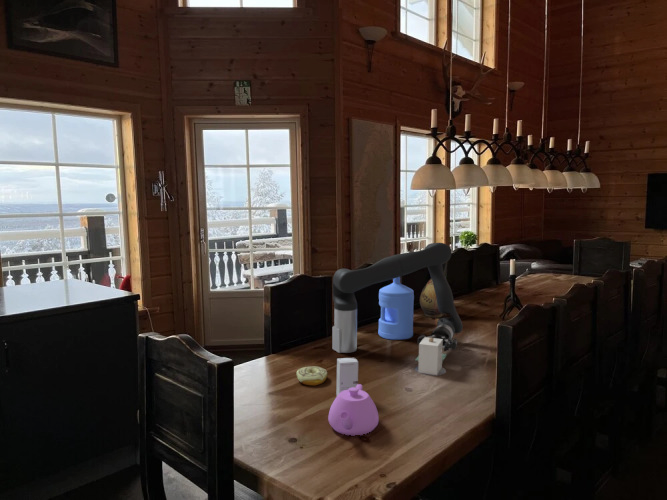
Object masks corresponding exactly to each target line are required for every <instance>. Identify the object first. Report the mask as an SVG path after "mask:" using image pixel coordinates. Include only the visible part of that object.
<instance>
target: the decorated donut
mask: <svg viewBox="0 0 667 500" xmlns="http://www.w3.org/2000/svg"><path fill="white" fill-rule="evenodd" d="M296 378H297V380H298V381H299V382H300V383H301V384H303V385H307V386H317V385H321V384H324V382H325V381H326V380H327V378H328V371H327V370H326V369H325V368H323V367H320V366H314V365H313V366H304V367H301V368H298V369H297V371H296Z"/></svg>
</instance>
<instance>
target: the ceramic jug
mask: <svg viewBox="0 0 667 500" xmlns="http://www.w3.org/2000/svg"><path fill="white" fill-rule="evenodd" d="M442 268H443V272H445V269H446V263H444V264H442ZM419 305H420V308H421V309H422V312H424V314H423V315H424V316H425V317H429V318H441V317H443V315H444V313H441V312H439V310H438V305H437V300H436V294H435V290H434V285H433V282H432V279H431V278H430V279H429V280H428V281H427V283H426V284H425V285H424V287H423V288H422V291H421V293H420V296H419Z"/></svg>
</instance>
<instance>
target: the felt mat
mask: <svg viewBox="0 0 667 500" xmlns="http://www.w3.org/2000/svg"><path fill="white" fill-rule="evenodd" d="M446 357H447V354H446V353H442V363H443V362H444V360H445V359H446ZM414 360H415V361H417V362H419V355H417V357H416V358H415V359H414Z"/></svg>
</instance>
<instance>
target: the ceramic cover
mask: <svg viewBox="0 0 667 500" xmlns="http://www.w3.org/2000/svg"><path fill="white" fill-rule="evenodd" d="M428 337H429V336H425V337H424V339H423V340H422V341H421V342H420V343H419V345H418V356H419V361H418V366H419V367H418V372H417V373H418V374H420V373H425V374H432V375H436V376H438V375H437V374H438V373H439V371H440V369H441V368H443V362H442V354H443V348H442V347H443V339H437V338H428Z"/></svg>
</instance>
